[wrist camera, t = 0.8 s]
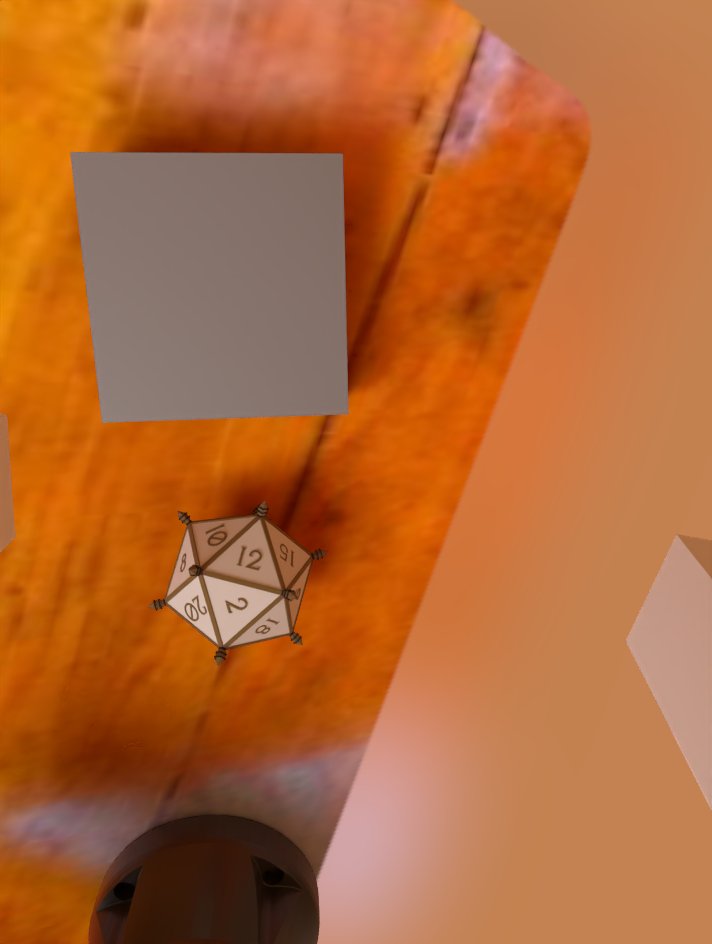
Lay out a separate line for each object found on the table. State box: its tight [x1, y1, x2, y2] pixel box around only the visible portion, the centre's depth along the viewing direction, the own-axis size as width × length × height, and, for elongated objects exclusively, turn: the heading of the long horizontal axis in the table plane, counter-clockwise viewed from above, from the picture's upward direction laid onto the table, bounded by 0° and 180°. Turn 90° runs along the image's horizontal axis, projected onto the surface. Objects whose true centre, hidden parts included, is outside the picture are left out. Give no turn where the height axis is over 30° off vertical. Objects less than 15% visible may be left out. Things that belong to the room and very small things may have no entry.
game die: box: [148, 500, 327, 666], centre depth 35 cm, size 9×8×10 cm
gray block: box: [70, 152, 348, 423], centre depth 32 cm, size 12×12×5 cm
